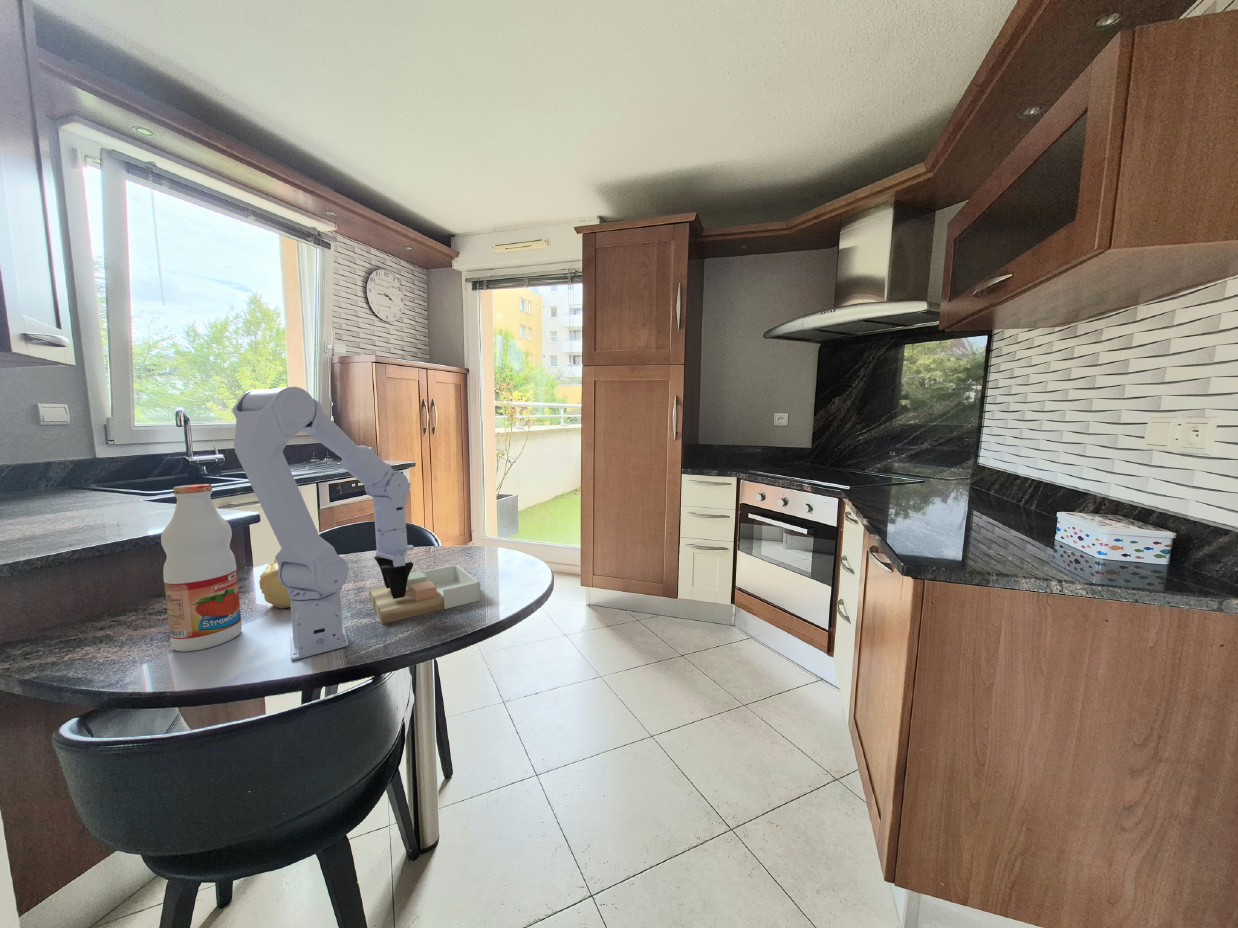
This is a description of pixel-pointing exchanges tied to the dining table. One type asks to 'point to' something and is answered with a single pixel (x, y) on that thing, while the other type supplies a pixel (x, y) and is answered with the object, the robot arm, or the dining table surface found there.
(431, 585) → the tile
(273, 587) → the sculpture
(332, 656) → the dining table surface
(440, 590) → the tray
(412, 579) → the tile
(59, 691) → the dining table surface
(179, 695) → the dining table surface
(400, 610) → the board
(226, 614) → the fruit juice
